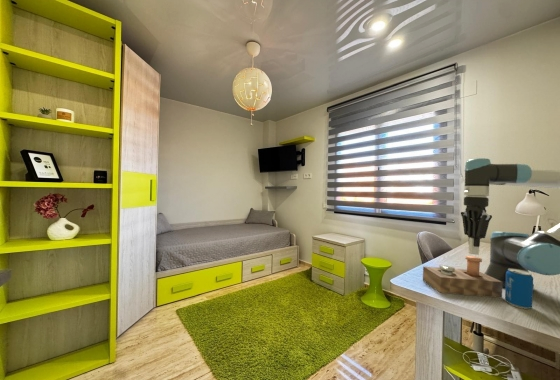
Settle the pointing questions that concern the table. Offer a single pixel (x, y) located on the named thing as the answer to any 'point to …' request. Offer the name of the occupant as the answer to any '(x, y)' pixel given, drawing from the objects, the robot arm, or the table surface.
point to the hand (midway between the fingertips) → (473, 253)
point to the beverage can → (519, 288)
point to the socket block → (462, 283)
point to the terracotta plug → (473, 265)
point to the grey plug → (447, 270)
